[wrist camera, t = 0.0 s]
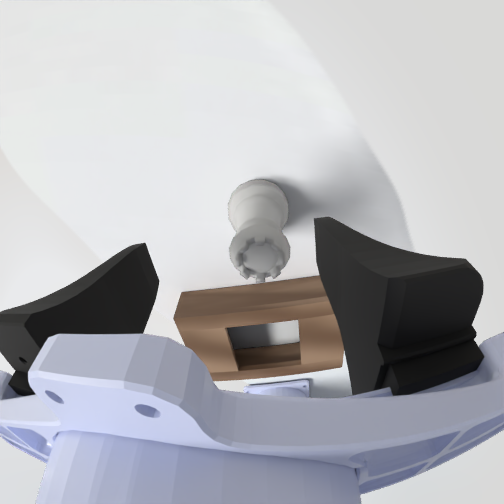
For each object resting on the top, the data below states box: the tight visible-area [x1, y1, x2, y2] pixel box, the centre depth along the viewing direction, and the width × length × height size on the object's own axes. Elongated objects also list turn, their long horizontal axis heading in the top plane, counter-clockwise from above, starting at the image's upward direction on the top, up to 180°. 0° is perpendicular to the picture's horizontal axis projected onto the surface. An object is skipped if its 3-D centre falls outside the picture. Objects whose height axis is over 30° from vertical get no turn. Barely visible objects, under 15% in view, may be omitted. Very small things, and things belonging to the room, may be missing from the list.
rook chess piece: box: [228, 180, 290, 283], centre depth 18 cm, size 4×4×8 cm
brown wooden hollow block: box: [173, 276, 344, 381], centre depth 26 cm, size 9×14×4 cm, turn 99°
